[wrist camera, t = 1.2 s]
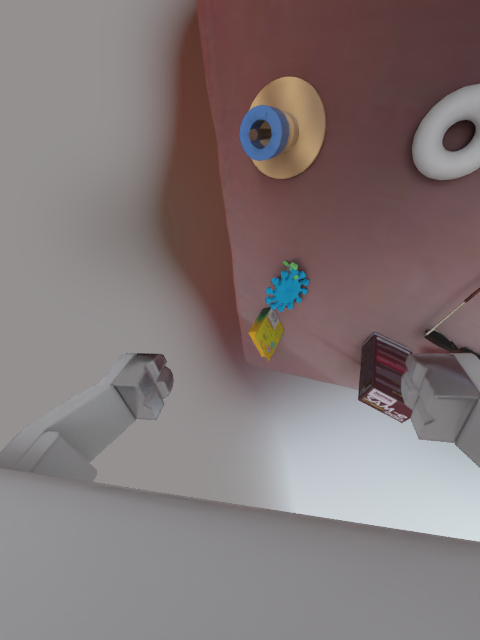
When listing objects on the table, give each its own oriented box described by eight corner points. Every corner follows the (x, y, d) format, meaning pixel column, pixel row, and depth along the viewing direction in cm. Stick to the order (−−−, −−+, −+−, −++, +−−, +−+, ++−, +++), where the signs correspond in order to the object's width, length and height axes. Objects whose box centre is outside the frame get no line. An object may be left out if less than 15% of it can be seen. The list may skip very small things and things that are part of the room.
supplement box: (361, 345, 58) (356, 400, 46) (374, 330, 54) (372, 386, 43) (398, 363, 56) (402, 424, 45) (413, 349, 53) (422, 412, 42)
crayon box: (262, 308, 63) (243, 337, 55) (272, 306, 62) (255, 335, 53) (274, 332, 66) (258, 362, 58) (284, 330, 64) (269, 361, 56)
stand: (298, 51, 36) (264, 21, 25) (342, 140, 39) (328, 145, 29) (233, 125, 44) (188, 125, 34) (274, 193, 47) (245, 212, 37)
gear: (300, 312, 57) (261, 313, 53) (287, 298, 62) (250, 298, 57) (320, 268, 51) (278, 265, 47) (304, 255, 56) (264, 252, 51)
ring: (264, 95, 33) (254, 93, 31) (298, 125, 34) (291, 126, 31) (242, 140, 37) (232, 142, 35) (272, 167, 38) (264, 170, 35)
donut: (450, 72, 31) (394, 162, 38) (457, 66, 29) (395, 164, 35) (532, 103, 30) (459, 190, 37) (547, 100, 28) (465, 194, 34)
